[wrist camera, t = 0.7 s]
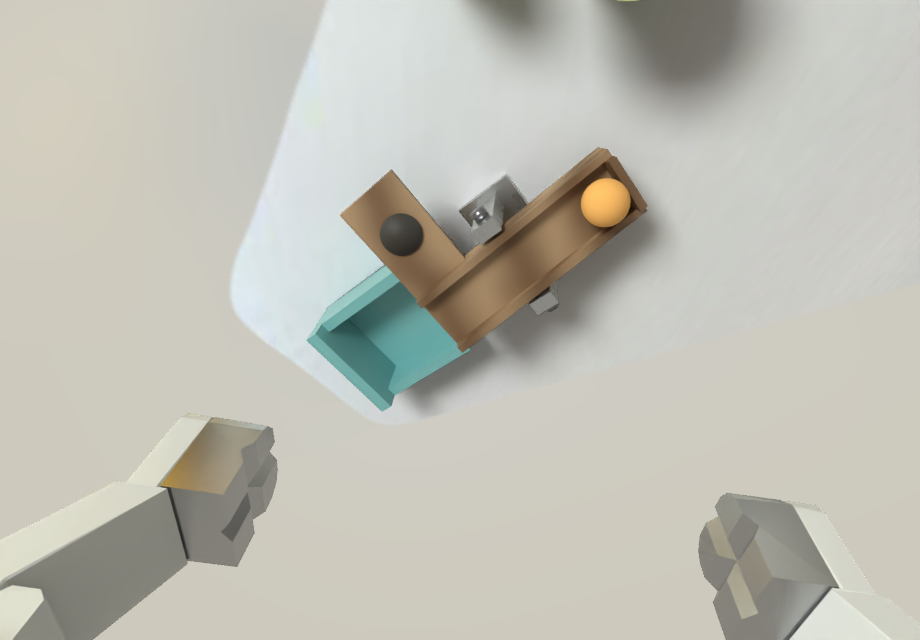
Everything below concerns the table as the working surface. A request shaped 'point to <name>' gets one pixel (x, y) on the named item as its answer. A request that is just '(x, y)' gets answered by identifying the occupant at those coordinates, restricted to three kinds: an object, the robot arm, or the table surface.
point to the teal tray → (382, 338)
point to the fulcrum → (488, 219)
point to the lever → (487, 247)
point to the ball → (605, 202)
